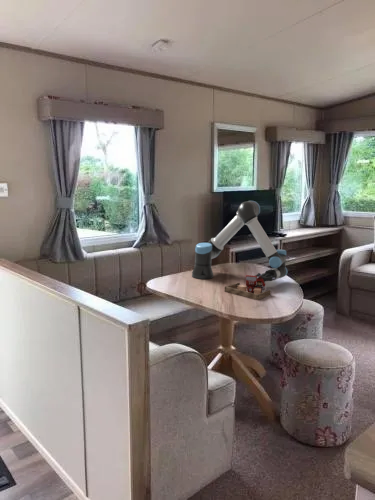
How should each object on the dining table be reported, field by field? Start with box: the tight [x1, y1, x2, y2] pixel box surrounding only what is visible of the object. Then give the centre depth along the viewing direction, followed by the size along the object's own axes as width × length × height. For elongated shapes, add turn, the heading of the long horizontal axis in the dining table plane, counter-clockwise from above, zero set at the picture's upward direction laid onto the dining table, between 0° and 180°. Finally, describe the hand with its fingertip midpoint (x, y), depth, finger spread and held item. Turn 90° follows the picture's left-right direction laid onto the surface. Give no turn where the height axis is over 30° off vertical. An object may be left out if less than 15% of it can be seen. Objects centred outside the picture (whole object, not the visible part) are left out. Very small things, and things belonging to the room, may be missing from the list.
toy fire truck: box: [245, 274, 266, 293], centre depth 256 cm, size 7×12×10 cm, turn 78°
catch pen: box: [224, 282, 272, 301], centre depth 255 cm, size 24×15×3 cm, turn 49°
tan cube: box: [253, 288, 262, 294], centre depth 252 cm, size 4×4×4 cm
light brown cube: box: [236, 284, 248, 292], centre depth 257 cm, size 4×4×4 cm
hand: (253, 280), depth 258 cm, fingers closed
